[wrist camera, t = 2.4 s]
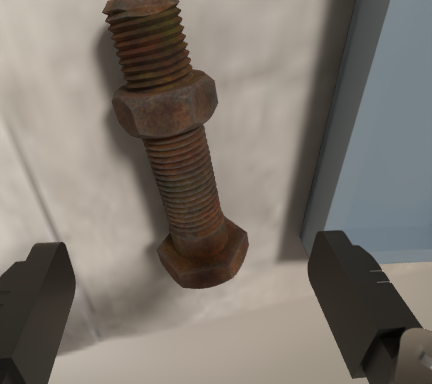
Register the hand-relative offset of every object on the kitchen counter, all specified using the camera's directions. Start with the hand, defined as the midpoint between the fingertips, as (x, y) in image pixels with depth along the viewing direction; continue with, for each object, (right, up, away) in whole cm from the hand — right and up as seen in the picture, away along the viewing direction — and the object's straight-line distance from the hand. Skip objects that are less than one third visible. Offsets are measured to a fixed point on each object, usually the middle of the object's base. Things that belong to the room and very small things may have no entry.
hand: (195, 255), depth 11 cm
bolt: (-1, +5, +9) cm, 10 cm away
